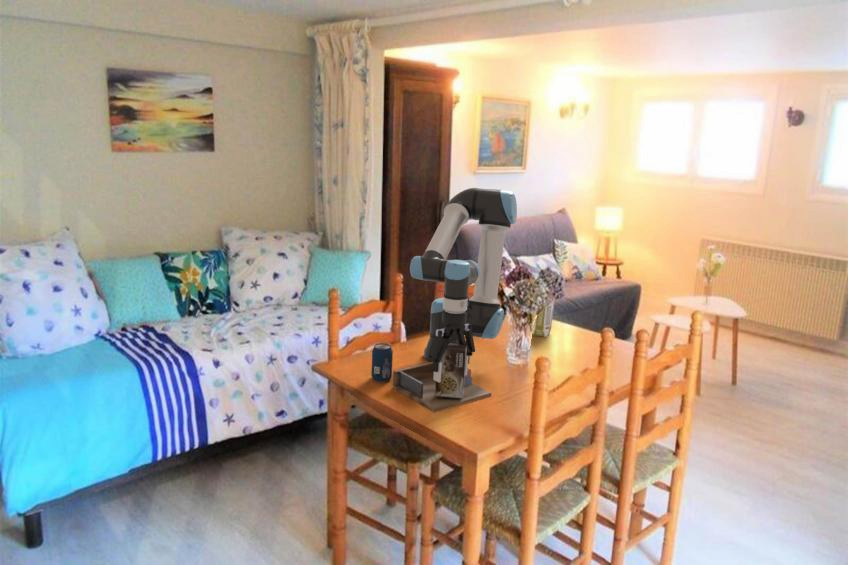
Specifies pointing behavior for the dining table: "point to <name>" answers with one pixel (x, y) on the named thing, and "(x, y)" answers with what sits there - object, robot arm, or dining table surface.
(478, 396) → the book stand
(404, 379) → the grey upright panel
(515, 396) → the dining table surface
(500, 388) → the dining table surface
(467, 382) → the books
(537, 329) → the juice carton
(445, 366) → the coffee box
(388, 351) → the soda can
